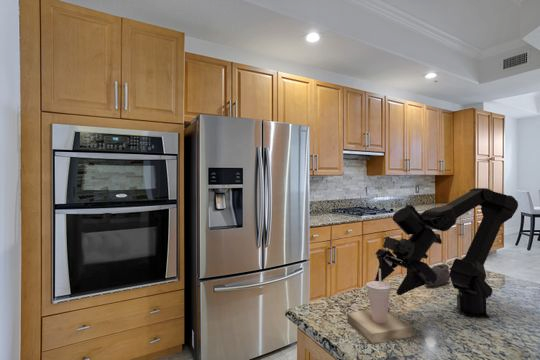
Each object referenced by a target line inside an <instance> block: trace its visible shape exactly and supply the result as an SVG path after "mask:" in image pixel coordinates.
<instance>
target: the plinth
mask: <svg viewBox="0 0 540 360" xmlns="http://www.w3.org/2000/svg"><path fill="white" fill-rule="evenodd" d="M346 314H347V315H346V317H347V319H346V321H347V323H348V324H349V325H350V326H351V327H352V328H353V329H355V330H356V332H358V333H359V334H360V335H362V336H363V337H364V338H365V339H366V340H367V341H368V342H369V343H371V344H372V345H374V344H381V343H385V342H390V341H396V340H402V339H405V338H411V337H413V326H412V325H411V324H408V323H407V322H405V321H404V320H402V319H401V318H400V317H397V316H396V315H395V314H393V313H392V312H391V311H388V313H387V322H386V323H376V322H374V321H373V320H372V314H371V309H368V310H367V309H365V310H360V311H353V312H348V313H346Z"/></svg>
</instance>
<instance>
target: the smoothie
mask: <svg viewBox="0 0 540 360" xmlns="http://www.w3.org/2000/svg"><path fill="white" fill-rule="evenodd" d="M366 289H367V294H368V301H369V306H370V310H371V314H372V320H373V321H374V322H376V323H386V322H387V313H388V312H389V311H388V310H389V301H390V293H391V291H392V287H391V284H389V283H387V282H384V281H381V269H379V281H375V280H371V281H368V282H366Z"/></svg>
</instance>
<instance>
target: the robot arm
mask: <svg viewBox="0 0 540 360" xmlns="http://www.w3.org/2000/svg"><path fill="white" fill-rule="evenodd" d="M478 206H479V207H480V210H481V214H482V218H481V221H480V223H479V225H478V228H477V229H476V232H475V234H474V236H473V239H472V240H471V242H470V245H469V247H468V249H467V251H466V254H465V256H464V257H463V258H461V259H459V258H454V259H453V261H452V262H453V263H452V265H451V267H450V268H449V270H450V271H449V273H450V274H449V276H450V278H449V279H450V281H451V283H452V284H451V285H452V286H453V288H454V289H455V290H458V294H456V308H457V309H458V310H459V311H460V312H461V313H462V314H463V316H465V317H474V318H476V317H477V318H490V315H489V314H488V313H487V299H489V297H492V294H493V288H492V287H491V286H490V285H489V283H488V282H487V281H486V278H487V273H486V269H485V266H484V265H485V262H486V261H487V258H488V256H489V254H490V252H491V250H492V247H493V244H494V243H495V240H496V238H497V237H498V234H499V232H500V230H501V227H502V225H503V224H504V223H505V222H507V221H509V220H510V219H512V217H513V216H514V215H515V213H516V212H517V210H518V207H519V202H518V200H516V198H515V197H514V196H513V195H508V194H504V193H500V192H496V191H493V190H492V189H489V188H487V187H474V188H471V189H470V190H469V191H468V192H466V193H464V194H462V195H461V196H459V197H457V198H455V199H453V200H452V201H450V202H448V203H447V204H445V205H440V206H436V207H432V208H428V209H426V210H424V211H423V212H422V213H419V212H418V211H417V209H416V208H415V206H414V205H411V204H407V205H406V206H405V207H403V208H400V209H399V210H398V211H395V213H394V214H393V216H392V221H393V222H394V223H395V224H396V225H397V226H398V227H399V229H401V230H402V231H403V232H404V233H405V234H406V236H407V235H408V236H409V235H410V236H409V238H408V239H406V238H401V239H396V238H393V237H389V236H386V237H385V239H384V241H383V244H382V248H378V249H377V251H375V255H376V258H377V259H378V260H377V261H378V269H377V272H376V275H375V279H374V281H379V269H381V282H384V280H385V279H386V278H388V277H389V276H390V275H391V274H393V272H395V271H396V270H395V268H397V267H402V268H403V269H406V275H405V277H404V278H403V280H402V281H401V283H400V284H399V286H398V287H397V288H398V289H397V290H396V292H395V293H396V294H397V296H401V295H403V294H405V293H406V294H407V293H408V292H410V291H413V290H414V289H417V288H421V287H422V286H427V285H428V283H430V284H432V285H433V284H434V282H435V281H436V280H437V274H436V273H435V272H434V271H433V270H432V269H431V268H432V267H431V266H430V265H429V264H428V263H426V262H424V261H422V259H425V260H426V259H427V258H428V257H429V255H428V254H427V253H428V252H429V250H430V249H431V247H432V246H433V244H437V245H438V244H439V245H442V239H441V234H440V233H436V232H435V231H440V232H447V231H449V230H450V229H451V228H452V227H453V226H455V225H456V223H457V219H458V218H460V217H461V216H463V215H465V214H466V213H468V212H470V211H471V210H473V209H475V208H476V207H478ZM434 230H435V231H434ZM427 282H428V283H427Z"/></svg>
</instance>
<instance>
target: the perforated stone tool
mask: <svg viewBox="0 0 540 360" xmlns="http://www.w3.org/2000/svg"><path fill="white" fill-rule="evenodd" d="M430 268H431V269H432V270H433V271H434V272H435V273H436V274H437V280H436V281H435V282H434V284H433V285H432V284H430V283H428V282H427V283H428V285H426V286H427V287H431V288H432V287H437V286H441V285H442V286H443V285H444V284H446V283H448V282H449V281H450V279H451V278H450V276H449V274H450V271H449V270H450V268H449V265H448V264H445V263H442V264H441V263H440V264H437V265H434V266H433V267H430Z"/></svg>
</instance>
